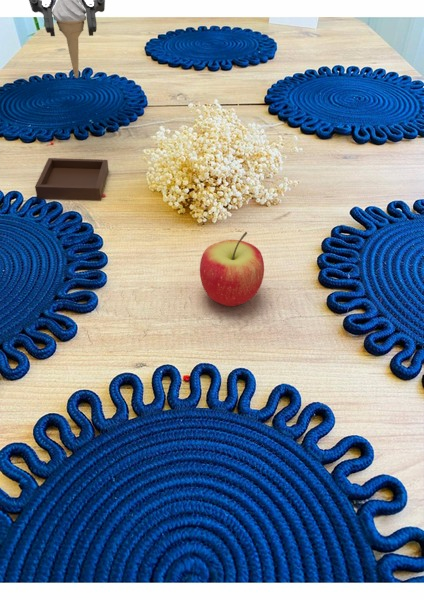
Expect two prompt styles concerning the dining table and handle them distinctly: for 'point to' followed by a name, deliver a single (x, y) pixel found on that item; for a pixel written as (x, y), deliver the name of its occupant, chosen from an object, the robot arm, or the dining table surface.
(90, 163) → the tray
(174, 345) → the dining table surface
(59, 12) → the ice cream cone
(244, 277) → the apple
